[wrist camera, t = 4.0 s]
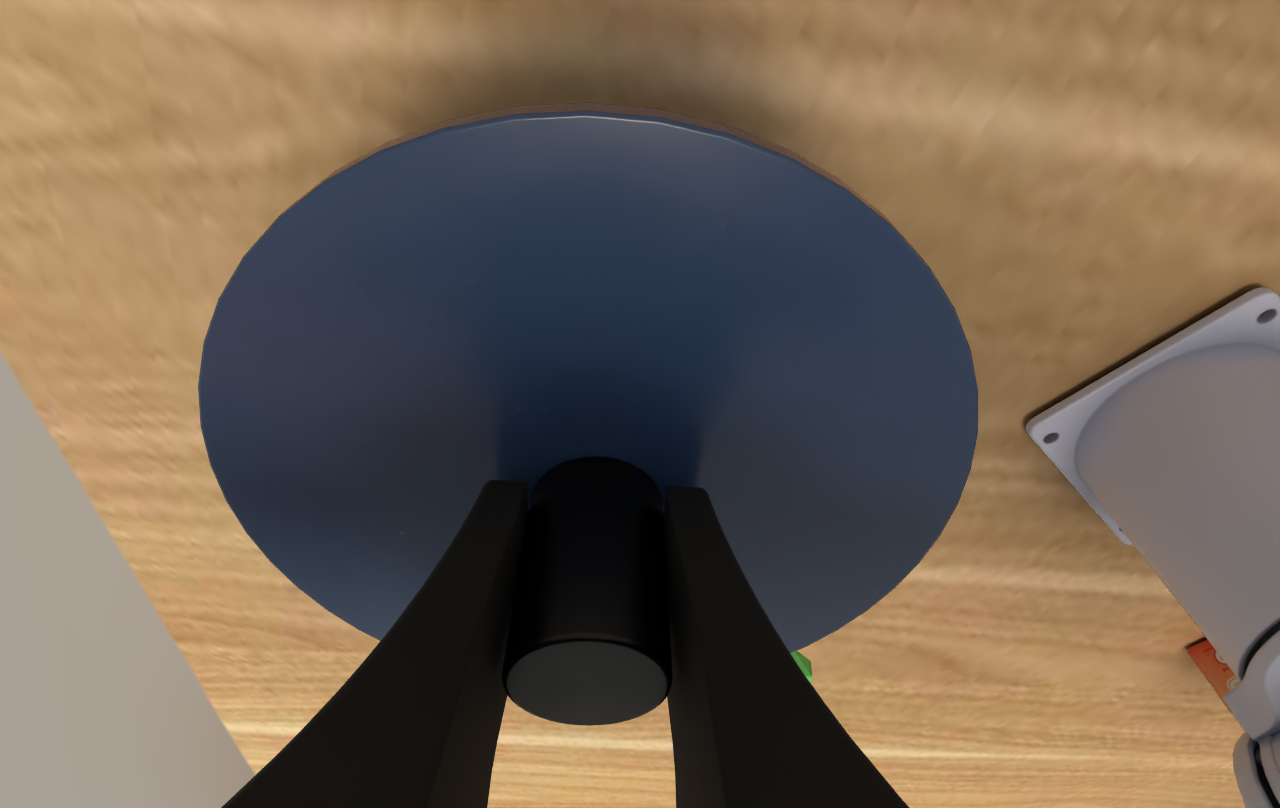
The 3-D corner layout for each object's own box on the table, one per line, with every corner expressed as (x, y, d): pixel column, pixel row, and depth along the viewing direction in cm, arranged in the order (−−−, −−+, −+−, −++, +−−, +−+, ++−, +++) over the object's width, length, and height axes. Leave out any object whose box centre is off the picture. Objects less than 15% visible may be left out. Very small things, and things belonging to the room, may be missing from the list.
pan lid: (1126, 303, 11) (1383, 512, 7) (733, 691, 18) (759, 889, 15) (259, -117, 7) (-115, -134, 4) (216, 576, 15) (80, 798, 11)
